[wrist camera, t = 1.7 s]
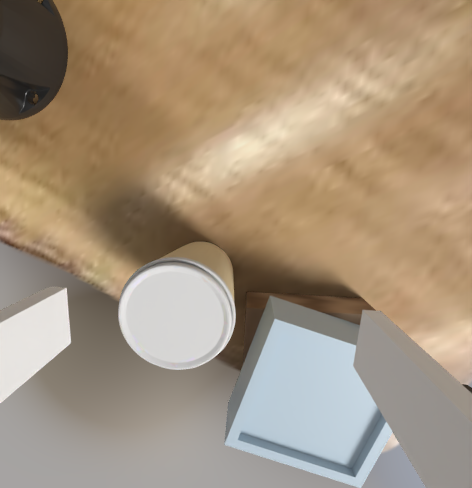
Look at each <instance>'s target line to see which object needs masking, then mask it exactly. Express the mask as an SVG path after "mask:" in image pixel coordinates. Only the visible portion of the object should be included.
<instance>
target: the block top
mask: <svg viewBox="0 0 472 488" xmlns="http://www.w3.org/2000/svg"><path fill="white" fill-rule="evenodd" d="M359 328H360V325H358V324H355V323H352V322H349V321H346V320H343V319H340V318H337V317H334V316H331V315H328V314H325V313H322V312H318V311H315V310H312V309H309V308H306V307H303V306H300V305H297V304H294V303H291V302H288V301H285V300H282V299H279V298H276V297H273V296H270V297H269V299H268V302H267V304H266V307H265V309H264V312H263V315H262V317H261V320H260V322H259V325H258V328H257V330H256V333H255V335H254V338H253V340H252V343H251V346H250V348H249V351H248V353H247V356H246V358H245V361H244V364H243V366H242V369H241V371H240V374H239V377H238V379H237V382H236V384H235V387H234V390H233V392H232V395H231V397H230V400H229V402H228V411H227V422H226V433H225V445H227V446H230V447H233V448H236V449H239V450H243V451H246V452H249V453H252V454H255V455H259V456H262V457H265V458H268V459H271V460H274V461H277V462H280V463H284V464H287V465H290V466H293V467H296V468H299V469H302V470H306V471H309V472H312V473H315V474H318V475H321V476H324V477H327V478H331V479H334V480H337V481H340V482H344V483H346V484H350V485H352V486H356V487H359V488H361V487H362V485H363V483H364V481H365V480H366V478H367V476H368V474H369V473H370V471H371V469H372V467H373V466H374V464H375V462H376V460H377V458H378V457H379V455H380V453H381V452H382V450H383V448H384V446H385V445H386V443H387V441H388V439H389V438H390V436H391V434H392V430H391V428H390V427H389V425H388V423H387V422H386V420H385V418H384V417H383V415H382V413H381V412H380V410H379V408H378V407H377V405H376V403H375V402H374V400H373V398H372V397H371V395H370V393H369V392H368V390H367V388H366V387H365V385H364V383H363V382H362V380H361V378H360V377H359V375H358V373H357V372H356V370H355V368H354V367H353V363H354V357H355V351H356V345H357V340H358V334H359Z"/></svg>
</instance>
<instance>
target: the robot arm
mask: <svg viewBox="0 0 472 488" xmlns="http://www.w3.org/2000/svg"><path fill="white" fill-rule="evenodd" d="M67 59H68V46H67V38H66V33H65V28H64V25H63V22H62V19H61V16H60V14H59V11H58V9H57V7H56V5H55V4H54V2H53V0H44V1H43V2H42V4H40V3H39V2H38V0H0V119H1V120H19V119H24V118H27V117H30V116H32V115H35V114H36V113H38V112H40V111H41V110H43V109H44V108H45V107H46V106H47V105H48V104H49V103H50V102H51V101H52V100H53V99H54V97H55V96H56V94H57V93H58V91H59V89H60V87H61V85H62V82H63V79H64V76H65V72H66V68H67ZM35 94H37V95H38V97H39V100H38V102H37V104H36V105H35V104H34V102H33V98H34V97H35ZM70 343H71V338H70V326H69V314H68V301H67V288H63V287H48V288H46V289H44V290H42V291H40V292H38V293H35V294H33V295H31V296H29V297H27V298H25V299H23V300H21V301H19V302H17V303H15V304H13V305H10V306H9V307H6V308H4V309H2V310H0V403H1V402H2V401H4V400H5V399H6V398H7V397H8V396H9V395H10V394H12V393H13V392H14V391H15V390H16V389H18V388H19V387H20V386H21V385H22V384H23V383H25V382H26V381H27V380H28V379H29V378H30V377H32V376H33V375H34V374H35V373H36V372H37V371H39V370H40V369H41V368H42V367H43V366H44V365H45V364H47V363H48V362H49V361H50V360H52V359H53V358H54V357H55V356H56V355H57V354H58V353H60V352H61V351H62V350H63V349H64V348H66V347H67V346H68V345H69V344H70ZM353 367H354V368H355V370H356V372H357V373H358V375H359V377H360V378H361V380H362V382H363V383H364V385H365V387H366V388H367V390H368V392H369V393H370V395H371V397H372V398H373V400H374V402H375V403H376V405H377V407H378V408H379V410H380V412H381V413H382V415H383V417H384V418H385V420H386V422H387V423H388V425H389V427H390V428H391V430H392V432H393V433H394V435H395V437H396V438H397V440H398V442H399V443H400V445H401V447H402V448H403V450H404V452H405V453H406V455H407V457H408V458H409V460H410V462H411V463H412V465H413V467H414V468H415V470H416V472H417V473H418V475H419V477H420V478H421V480H422V482H423V483H424V485H425V487H426V488H472V388H471V387H470V386H468V385H464V384H461V383H460V382H459V381H457V380H456V379H455V378H454V377H453V376H452V375H451V374H450V373H449V372H447V371H446V370H445V369H444V368H443V367H442V366H441V365H440V364H439V363H438V362H436V361H435V360H434V359H433V358H432V357H431V356H430V355H429V354H428V353H426V352H425V351H424V350H423V349H422V348H421V347H420V346H419V345H418V344H416V343H415V342H414V341H413V340H412V339H411V338H410V337H409V336H408V335H407V334H405V333H404V332H403V331H402V330H401V329H400V328H399V327H398V326H397V325H395V324H394V323H393V322H392V321H391V320H390V319H389V318H388V317H387V316H386V315H384V314H383V313H382V312H381V311H373V310H362V316H361V322H360V328H359V334H358V340H357V345H356V351H355V357H354V363H353Z"/></svg>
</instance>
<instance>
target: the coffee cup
mask: <svg viewBox="0 0 472 488" xmlns="http://www.w3.org/2000/svg"><path fill="white" fill-rule="evenodd" d="M118 314H119V324H120V328H121V331H122V333H123V335H124V337H125V339H126V341H127V342H128V344H129V345H130V346H131V348H132V349H133V350H134V351H135V352H136V353H137V354H138V355H140V356H141V357H142V358H143V359H145V360H146V361H148V362H150V363H152V364H154V365H157V366H160V367H163V368H167V369H176V370H182V369H190V368H194V367H198V366H200V365H202V364H204V363H206V362H208V361H209V360H211V359H212V358H214V357H215V356H216V355H218V354H219V353H220V352H221V351H222V350H223V349H224V347H225V346H226V345H227V343H228V341H229V340H230V338H231V335H232V333H233V330H234V326H235V319H236V312H235V304H234V276H233V267H232V263H231V261H230V259H229V257H228V256H227V254H226V253H225V252H224V251H223V250H222V249H221V248H219V247H218V246H216V245H214V244H212V243H208V242H192V243H189V244H187V245H184V246H182V247H180V248H178V249H176V250H175V251H173V252H171V253H169V254H167V255H165V256H163V257H161V258H159V259H157V260H154V261H152V262H150V263H147V264H146V265H144V266H142V267H141V268H140V269H138V270H137V271H136V272H135V273H134V274H133V275H132V276H131V277H130V278H129V280H128V281H127V283H126V284H125V286H124V288H123V290H122V293H121V296H120V301H119V312H118Z"/></svg>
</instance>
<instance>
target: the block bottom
mask: <svg viewBox="0 0 472 488" xmlns="http://www.w3.org/2000/svg"><path fill="white" fill-rule="evenodd" d="M270 296H273V297H276V298H279V299H282V300H285V301H288V302H291V303H294V304H297V305H300V306H303V307H306V308H309V309H312V310H315V311H318V312H322V313H325V314H328V315H331V316H334V317H337V318H340V319H343V320H346V321H349V322H352V323H355V324H358V325H360V322H361V316H362V310H373V311H376V310H375V309H374V308H373V307H371V306H370V305H369V304H368V303H367V302H366V301H365V300H364V299H363V298H351V297H333V296H315V295H297V294H279V293H261V292H247V296H246V316H245V336H244V356H243V364H244V361H245V358H246V356H247V353H248V351H249V348H250V346H251V343H252V340H253V338H254V335H255V333H256V330H257V328H258V325H259V322H260V320H261V317H262V315H263V312H264V309H265V307H266V304H267V302H268V299H269V297H270Z"/></svg>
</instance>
